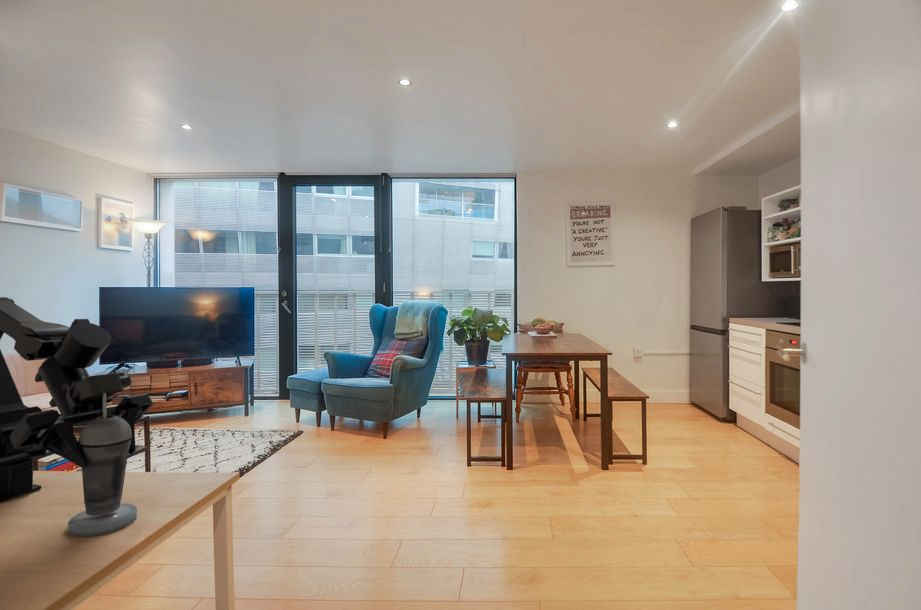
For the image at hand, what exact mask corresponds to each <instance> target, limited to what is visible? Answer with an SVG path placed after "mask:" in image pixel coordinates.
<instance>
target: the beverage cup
mask: <svg viewBox="0 0 921 610" xmlns="http://www.w3.org/2000/svg"><path fill="white" fill-rule="evenodd" d="M106 407H107V404H106V393H104V394H103V416H100V417H98V418H95V419H94V420H92V421H90V422H89V423H87V424H85V426H84V428H82V430H81V432H80V434H79V436H78V440H77V441H78V443H79V445H80V446H81V448H82V450H83V452H84V453H85V455H86V458H87V461H88V466H87V467H86V468H81V473H82V474H81V477H82V487H83V488H82V489H83V503H84V507H85V511H86V514H87V515H92V516H95V515H103V514H107V513H110V512H113V511H115V510H117V509H118V508H119V507H120V503H121V502H122V498H123V491H124V484H125V477H126V470H127V469H126V468H127V463H128V456H129V453H128V451H129V448H130V445H131V439H132V438H133V436H132V433H131V428H130V426H129V424H128V423H127V422H126V421H125V420H124V419H122V418H121V417H118V416H114V415H107V410H106Z"/></svg>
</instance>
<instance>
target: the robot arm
mask: <svg viewBox="0 0 921 610" xmlns="http://www.w3.org/2000/svg"><path fill="white" fill-rule="evenodd" d="M4 334H6V335H7V336H9V337H10V338H12V339H13V340H14V347H13V350H15V351H16V353H18V355H19V356H20V357H21V358H22V359H23V360H25V361H27V362H29V361H41V360H44V361H43V362H42V363H41V365H40V366H39V367H38V369H37V370H38V371H37V373H36V375H34V376H35V377H34V381H35V382H36V383H41V382H43V383H44V385H45V387H46V388H47V391H48V392H49V394H50V396H51V397H52V398H51V399H50V401H49V402H48V403H49V406H50V408H57V409H58V410H57V409H56V410H55V409H48V410H42V409H41V408H40V407H39V406H37V405H36V406H27V405H25V404H24V402H23V399H22V397H21V395H20V392H19V390H18V387H17V385H16V382H15V380H14V378H13V375H12V373H11V371H10V369H9V366H8V364H7V362H6V359H5V357H4V354H3V352H2V349H1V348H0V503H3V502H5V501H9V500H12V499H14V498H17V497H20V496H24V495H27V494H29V493H32V492H33V493H34V492H35V491H39V490H41V489H42V487H43V486H42V485H39V484H34V483H33V482H34V458H38V457H44V456H46V455H47V451H48V452H50V453H52V454H55V455H57V456H60V458H61V457H62V458H63V459H65V460H67V461H69V462H71V463H72V464H74V465H76V466H78V467H80V468H81V469H82V468H86V467H87V466H88V461H87V458H86V455H85V453H84V452H83V450H82V448H81V446H80V445H79V443H78V441H79V440H78V439H77V437H76V436H75V433H74V427H77V426H82V425H87V424H88V423H89V422H90V421H92V420H94V419H95V418H98V417H100V416H103V394H104V393H106V405H107V404H110V403H111V402H112V401H113V400H114V398H113V396H114V395H115V394H118V393H122V392H123V391H124V389H126V388H128V387H130V386H131V384H132V380H131V376H130V374H129V372H127V370H126V369H125V368H122V369H115V370H113V371H112V372H109V373H106V374H98V375H92V376H91V375H90V374H89V372H88V370H87V368H90V367H92V366H93V365H94V364H95V363H96V361H97V360H98V359H99V358H100V357H101V355H102V354H103V352H105V350H106V348H107V347H108V346H109V345H110V343H111V342H112V336H111V335H112V334H111V333H110V332H109V331H108V330H106V329H105V328H103V327H102V326H100V325H98V324H96V323H91V322H90V319H89V318H75V319H74V320H73V321H72V322H71V324H70V326H68V325H66V324H61V323H55V322H50V321H49V322H48V321H44V320H41V319H39V318H38V317H37V316H35V315H33V314H32V313H30V312H29V311H28V310H25V309H24V308H23V307H21V306H20V305H17V304H16V302H15V300H13V299H12V298H9V297H7V296H0V341H1V340H2V338H3V336H4ZM154 404H155V403H154V402H153V400H152V398H151V397H150V395H149V394H148V393H147V394H146V393H140V394H134V395H128V396H124V397H123V398H122V399H121V400H120V401H119V403H118V404H117V405H115V406H109V407H107V406H106V410H107V415H114V416H118V417H121V418H122V419H124V420H125V421H126V422H127V423H128V424H129V426H130V428H131V433H132V436H133V438H132V439H131V445H130V448H129V451H128V454H129V455H133V454H134V453H135V452H136V435H135V424H136V423H137V422H139V421H140V420H141V419H142V418H143V417H144V415H145V414H146V413H147V412H148V411H149V409H150V408H152V406H153V405H154Z"/></svg>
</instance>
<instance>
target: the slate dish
mask: <svg viewBox="0 0 921 610" xmlns="http://www.w3.org/2000/svg"><path fill="white" fill-rule="evenodd" d="M137 517H138V507H137V506H136V505H134V504H130V503H123V502H122V503H121V502H120V507H119V508H118V509H117V510H115V511H113V512H110V513H107V514H103V515H95V516H92V515H87V514H86V510H83V511H81V512H78V513H77V514H75V515H74V516H72V517H71V518H70V519H69V520H68V522H67V533H68V534H69V535H70V534H71V535H70V536H74V537H80V538H86V537H95V536H101V535H105V534H110V533H113V532H116V531H118V530H121V529H124V528H126V527H127V526H129V525H131V524H132V523H133V522H135V521H136V519H137Z"/></svg>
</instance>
